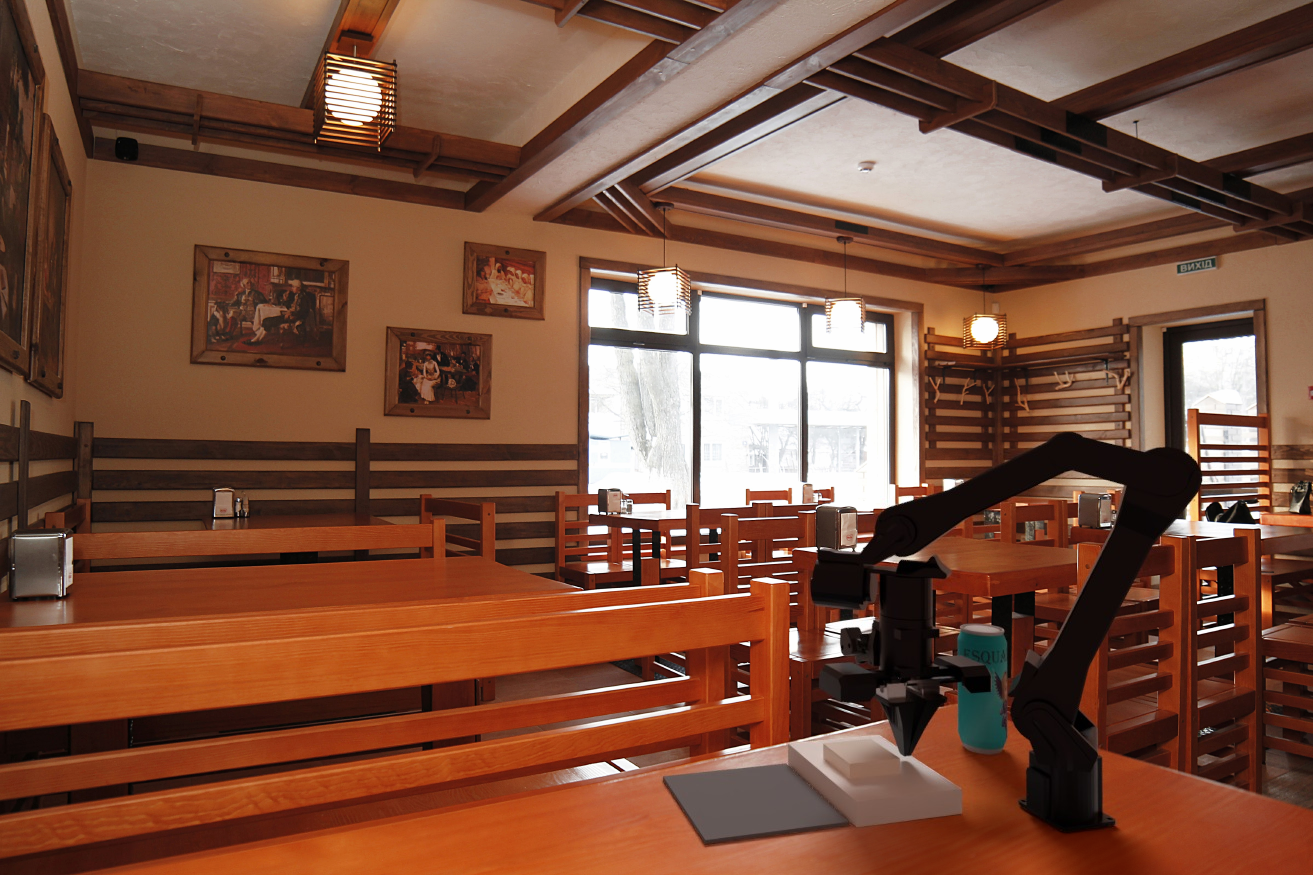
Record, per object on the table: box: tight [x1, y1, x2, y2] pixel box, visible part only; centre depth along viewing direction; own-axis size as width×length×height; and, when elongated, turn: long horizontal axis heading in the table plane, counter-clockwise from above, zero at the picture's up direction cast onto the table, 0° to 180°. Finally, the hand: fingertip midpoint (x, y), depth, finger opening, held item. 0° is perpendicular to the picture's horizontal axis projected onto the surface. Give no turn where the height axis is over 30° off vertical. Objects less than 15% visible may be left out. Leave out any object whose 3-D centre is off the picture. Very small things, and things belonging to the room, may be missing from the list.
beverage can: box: [957, 623, 1008, 756], centre depth 98 cm, size 6×6×15 cm
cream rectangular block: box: [823, 739, 900, 779], centre depth 86 cm, size 6×6×2 cm
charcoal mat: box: [662, 763, 851, 845], centre depth 82 cm, size 15×15×1 cm
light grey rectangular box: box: [787, 734, 963, 828], centre depth 86 cm, size 12×16×2 cm
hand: (905, 754), depth 87 cm, fingers closed
